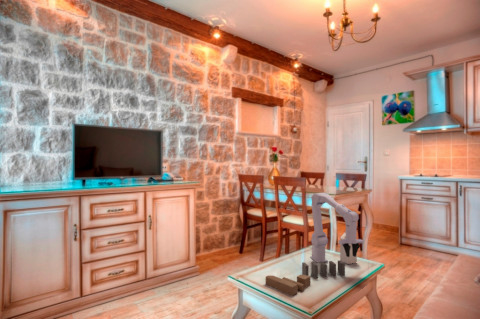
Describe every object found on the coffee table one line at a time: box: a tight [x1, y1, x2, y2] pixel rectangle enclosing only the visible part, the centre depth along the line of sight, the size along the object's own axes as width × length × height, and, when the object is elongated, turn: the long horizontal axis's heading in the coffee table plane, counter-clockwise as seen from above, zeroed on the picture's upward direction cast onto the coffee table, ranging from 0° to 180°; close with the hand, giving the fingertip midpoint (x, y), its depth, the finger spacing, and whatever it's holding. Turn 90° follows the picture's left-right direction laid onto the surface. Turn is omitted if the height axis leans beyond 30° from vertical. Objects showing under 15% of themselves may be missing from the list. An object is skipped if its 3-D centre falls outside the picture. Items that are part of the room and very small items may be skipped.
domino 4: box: [328, 260, 337, 278], centre depth 151 cm, size 2×5×7 cm, turn 10°
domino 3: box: [319, 261, 328, 278], centre depth 150 cm, size 2×5×7 cm, turn 10°
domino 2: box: [310, 261, 319, 279], centre depth 150 cm, size 2×5×7 cm, turn 10°
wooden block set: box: [265, 274, 311, 297], centre depth 139 cm, size 17×6×18 cm
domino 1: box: [301, 262, 309, 276], centre depth 149 cm, size 2×5×7 cm, turn 10°
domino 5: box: [337, 259, 346, 277], centre depth 152 cm, size 2×5×7 cm, turn 9°
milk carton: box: [339, 230, 358, 265], centre depth 172 cm, size 7×7×19 cm
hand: (351, 256), depth 153 cm, fingers open, 3 cm apart
